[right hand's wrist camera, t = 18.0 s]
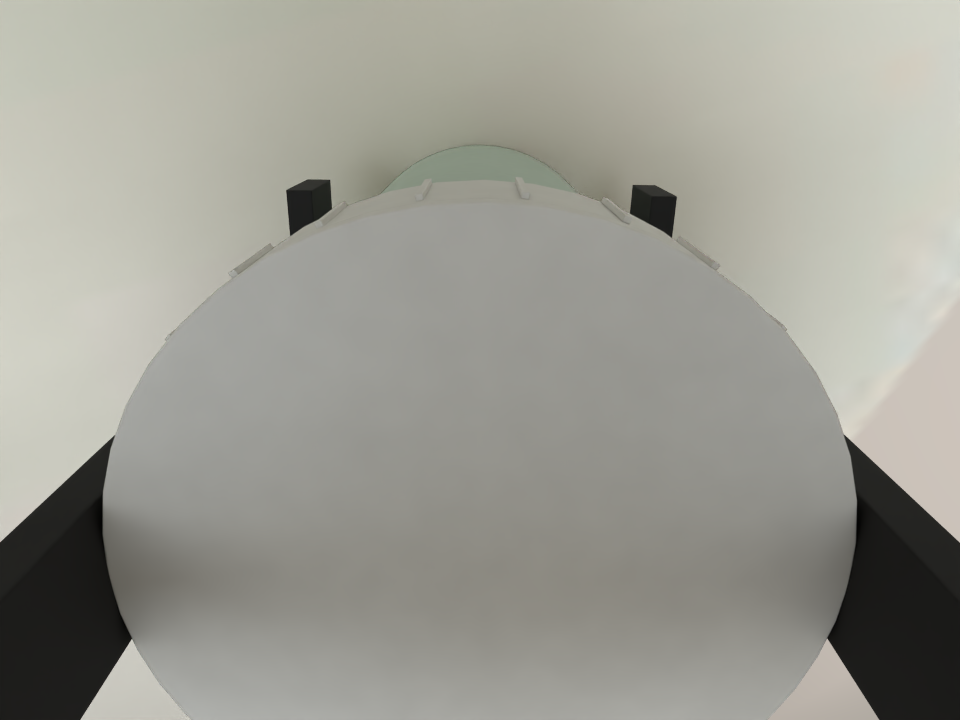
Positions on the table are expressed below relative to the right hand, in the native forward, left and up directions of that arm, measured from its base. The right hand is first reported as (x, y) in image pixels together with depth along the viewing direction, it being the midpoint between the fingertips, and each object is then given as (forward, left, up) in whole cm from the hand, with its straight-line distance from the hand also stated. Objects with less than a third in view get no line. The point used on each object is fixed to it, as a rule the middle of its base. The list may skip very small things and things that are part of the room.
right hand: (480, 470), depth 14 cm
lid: (0, 0, +3) cm, 3 cm away
